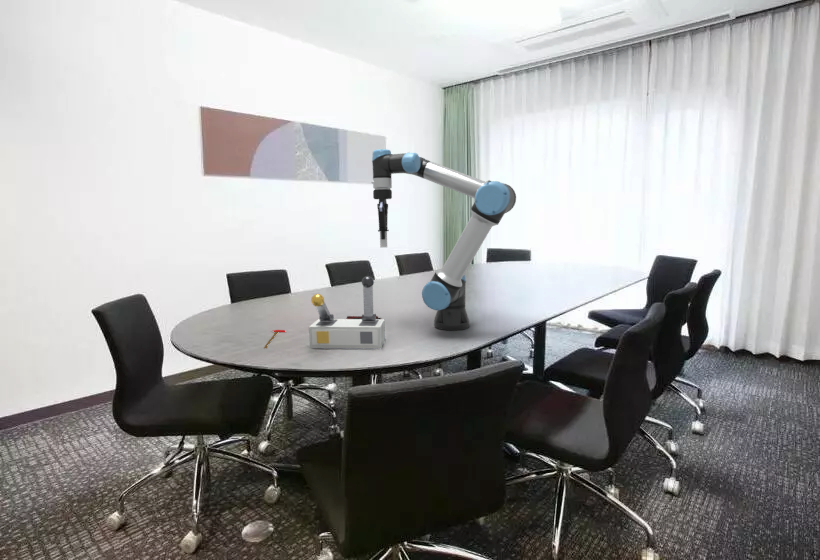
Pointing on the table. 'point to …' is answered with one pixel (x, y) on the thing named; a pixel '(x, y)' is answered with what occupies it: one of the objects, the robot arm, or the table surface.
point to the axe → (273, 336)
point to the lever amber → (321, 308)
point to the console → (347, 334)
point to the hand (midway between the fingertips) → (383, 247)
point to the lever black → (368, 299)
